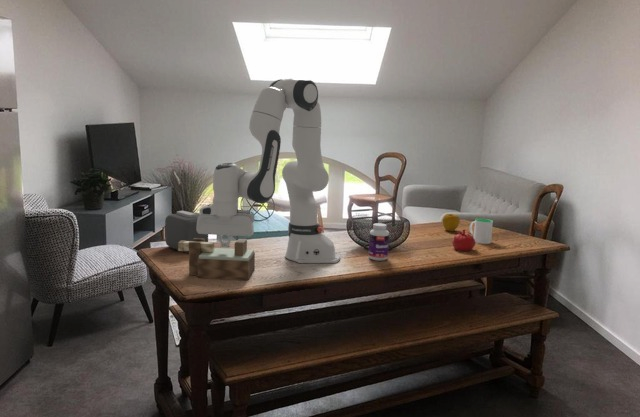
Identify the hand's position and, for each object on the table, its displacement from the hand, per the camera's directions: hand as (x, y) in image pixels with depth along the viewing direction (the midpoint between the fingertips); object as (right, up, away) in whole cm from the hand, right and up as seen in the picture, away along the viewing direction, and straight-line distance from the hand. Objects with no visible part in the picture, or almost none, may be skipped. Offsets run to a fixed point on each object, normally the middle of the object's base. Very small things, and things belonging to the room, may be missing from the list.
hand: (225, 246), depth 193 cm
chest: (-2, -10, +2) cm, 10 cm away
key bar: (-11, -1, +1) cm, 11 cm away
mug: (+110, -2, +65) cm, 128 cm away
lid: (+1, -3, +1) cm, 3 cm away
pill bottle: (+58, -7, +28) cm, 65 cm away
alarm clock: (-23, -4, +34) cm, 41 cm away
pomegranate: (+98, -5, +48) cm, 110 cm away
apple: (+102, +2, +85) cm, 133 cm away
